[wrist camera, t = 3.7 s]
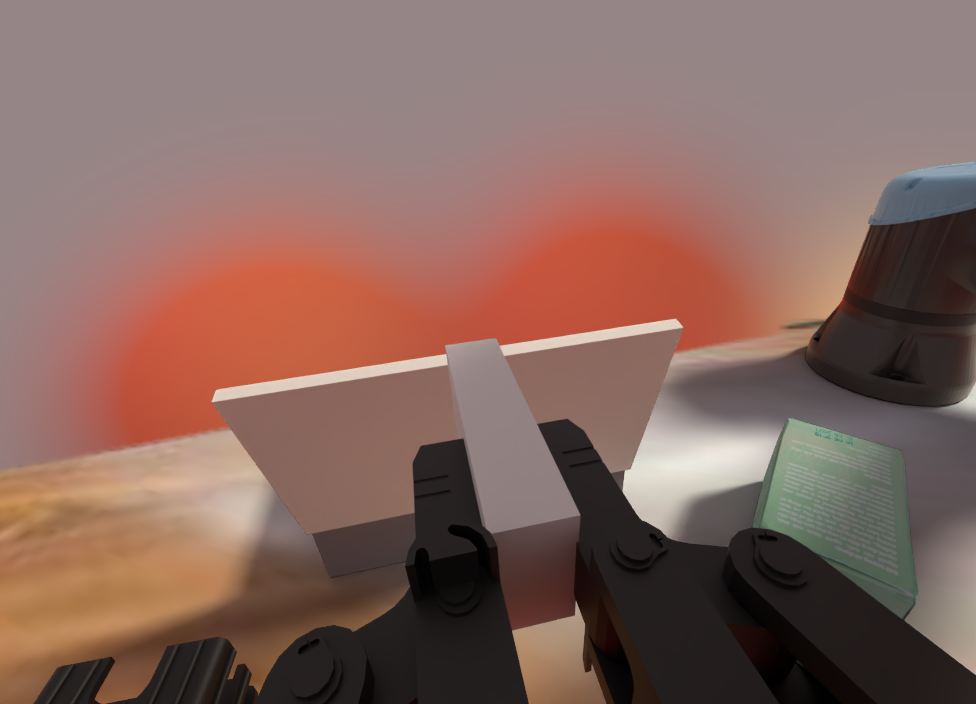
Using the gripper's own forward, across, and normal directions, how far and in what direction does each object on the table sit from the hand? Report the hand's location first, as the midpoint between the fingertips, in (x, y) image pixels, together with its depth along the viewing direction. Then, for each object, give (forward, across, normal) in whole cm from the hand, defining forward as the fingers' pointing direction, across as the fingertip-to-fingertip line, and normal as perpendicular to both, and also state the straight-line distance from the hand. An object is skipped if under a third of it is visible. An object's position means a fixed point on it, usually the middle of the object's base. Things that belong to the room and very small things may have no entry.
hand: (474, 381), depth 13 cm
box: (+5, +24, -23) cm, 34 cm away
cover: (+10, +1, -10) cm, 14 cm away
